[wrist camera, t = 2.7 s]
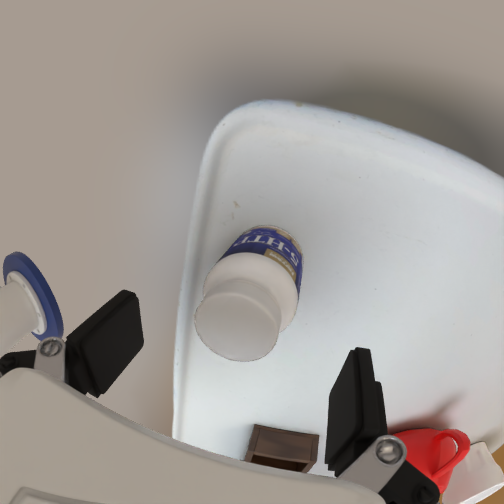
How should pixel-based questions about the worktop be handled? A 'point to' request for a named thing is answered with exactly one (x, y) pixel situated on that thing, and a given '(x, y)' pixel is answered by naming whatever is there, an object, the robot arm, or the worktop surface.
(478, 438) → the worktop surface
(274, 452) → the rack
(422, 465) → the teapot
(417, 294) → the worktop surface
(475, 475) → the cup
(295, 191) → the worktop surface
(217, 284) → the pill bottle
